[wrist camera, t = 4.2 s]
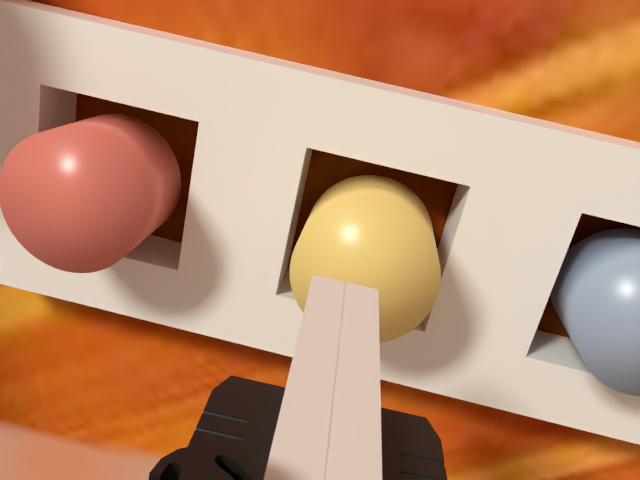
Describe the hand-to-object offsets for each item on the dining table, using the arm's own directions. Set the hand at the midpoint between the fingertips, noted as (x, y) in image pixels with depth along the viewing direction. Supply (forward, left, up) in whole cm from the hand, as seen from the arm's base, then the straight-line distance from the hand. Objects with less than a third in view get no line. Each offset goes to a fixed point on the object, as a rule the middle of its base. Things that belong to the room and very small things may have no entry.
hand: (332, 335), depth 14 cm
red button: (-8, 0, -8) cm, 11 cm away
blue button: (+10, 0, -9) cm, 13 cm away
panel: (+1, 0, -9) cm, 9 cm away
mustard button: (+1, 0, -8) cm, 8 cm away
